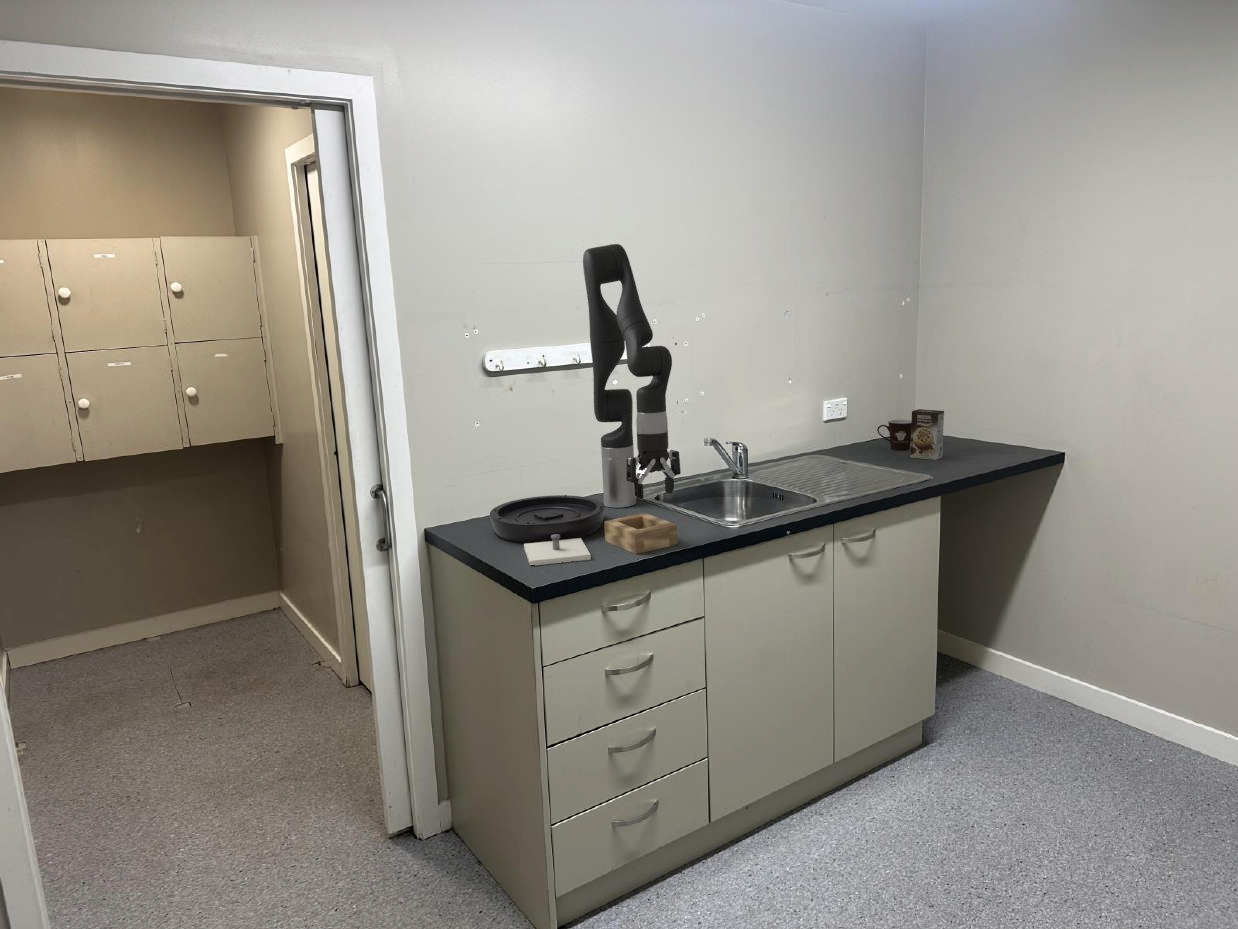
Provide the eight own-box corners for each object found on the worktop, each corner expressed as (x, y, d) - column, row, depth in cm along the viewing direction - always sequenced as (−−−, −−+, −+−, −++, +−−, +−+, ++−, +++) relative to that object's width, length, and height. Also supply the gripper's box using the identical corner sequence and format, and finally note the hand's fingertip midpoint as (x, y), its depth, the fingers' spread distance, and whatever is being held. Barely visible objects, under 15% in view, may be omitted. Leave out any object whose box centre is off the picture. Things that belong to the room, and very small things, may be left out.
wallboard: (524, 548, 207) (522, 530, 206) (580, 542, 210) (580, 525, 209) (530, 566, 194) (529, 547, 193) (590, 559, 196) (589, 540, 195)
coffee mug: (916, 448, 307) (917, 420, 305) (906, 452, 300) (907, 424, 298) (886, 445, 314) (886, 418, 312) (875, 449, 308) (876, 421, 306)
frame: (605, 540, 210) (604, 521, 210) (645, 531, 217) (644, 512, 216) (635, 554, 199) (635, 533, 198) (677, 544, 205) (677, 524, 204)
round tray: (564, 508, 245) (470, 529, 227) (563, 488, 243) (469, 508, 226) (628, 529, 221) (529, 554, 204) (627, 506, 220) (528, 530, 202)
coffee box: (909, 457, 291) (910, 411, 288) (916, 454, 296) (917, 408, 292) (936, 460, 285) (937, 412, 282) (943, 457, 290) (944, 410, 287)
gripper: (667, 425, 211) (669, 488, 214) (618, 431, 204) (621, 497, 207) (685, 428, 205) (687, 493, 208) (635, 435, 198) (638, 503, 201)
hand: (654, 495), depth 208 cm, fingers open, 8 cm apart
